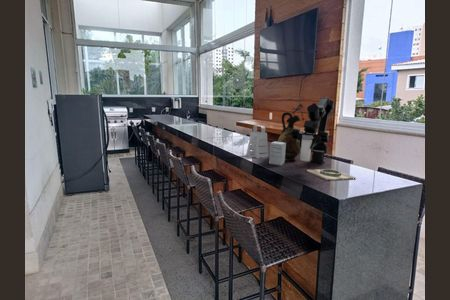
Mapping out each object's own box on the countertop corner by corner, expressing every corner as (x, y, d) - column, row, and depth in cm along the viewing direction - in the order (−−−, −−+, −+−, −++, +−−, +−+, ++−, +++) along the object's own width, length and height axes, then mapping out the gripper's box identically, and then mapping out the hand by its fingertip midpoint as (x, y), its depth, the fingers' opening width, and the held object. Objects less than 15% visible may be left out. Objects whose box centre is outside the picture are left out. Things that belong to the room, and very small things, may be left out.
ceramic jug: (302, 158, 180) (307, 112, 174) (295, 162, 167) (300, 113, 161) (277, 154, 188) (281, 111, 183) (269, 158, 175) (273, 111, 169)
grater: (257, 158, 175) (259, 126, 171) (246, 155, 183) (248, 125, 179) (268, 156, 182) (270, 126, 178) (257, 153, 189) (259, 124, 186)
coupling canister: (305, 158, 147) (308, 134, 144) (312, 160, 142) (314, 136, 139) (297, 159, 144) (300, 134, 142) (304, 161, 140) (306, 136, 137)
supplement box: (273, 161, 167) (274, 141, 165) (284, 163, 164) (286, 142, 161) (268, 163, 161) (270, 142, 159) (280, 165, 157) (282, 144, 155)
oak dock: (333, 170, 152) (333, 166, 152) (355, 179, 137) (356, 175, 136) (306, 171, 148) (307, 167, 147) (326, 180, 132) (327, 176, 131)
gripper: (293, 113, 147) (285, 136, 140) (330, 116, 137) (322, 140, 130) (296, 127, 155) (288, 149, 148) (331, 130, 145) (324, 154, 138)
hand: (305, 148), depth 141 cm, fingers closed on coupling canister, 5 cm apart
